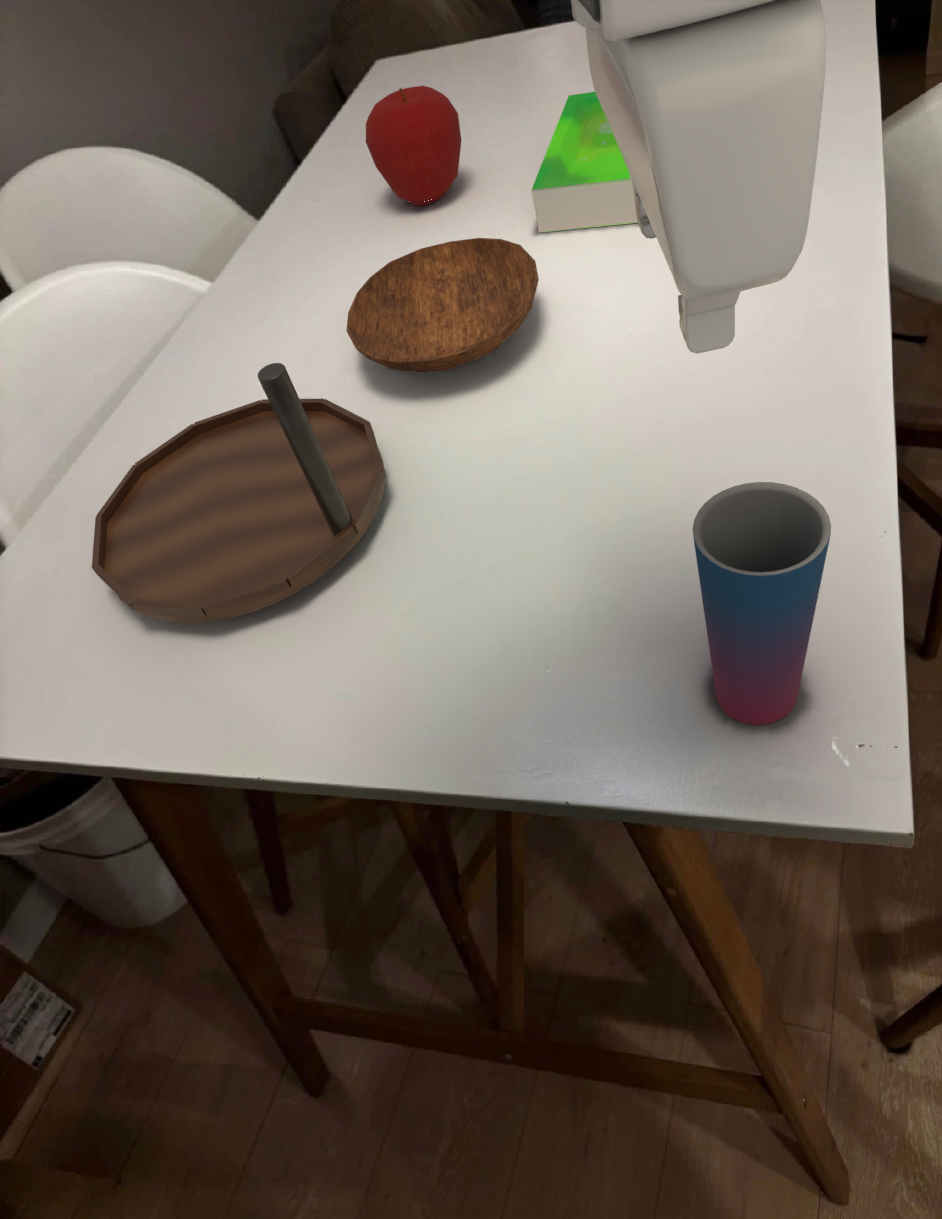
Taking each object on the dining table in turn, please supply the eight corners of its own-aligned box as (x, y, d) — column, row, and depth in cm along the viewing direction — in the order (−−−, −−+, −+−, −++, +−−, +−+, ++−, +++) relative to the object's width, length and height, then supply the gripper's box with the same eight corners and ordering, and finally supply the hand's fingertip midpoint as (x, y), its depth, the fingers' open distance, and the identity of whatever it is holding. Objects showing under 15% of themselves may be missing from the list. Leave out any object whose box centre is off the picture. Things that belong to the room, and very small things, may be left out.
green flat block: (538, 232, 103) (531, 189, 99) (574, 135, 118) (568, 95, 114) (767, 209, 95) (768, 162, 91) (773, 108, 110) (774, 64, 106)
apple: (472, 209, 110) (446, 94, 101) (382, 228, 112) (348, 117, 103) (474, 167, 118) (450, 56, 108) (390, 185, 120) (359, 79, 110)
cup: (789, 753, 54) (802, 591, 43) (683, 714, 57) (670, 553, 46) (828, 670, 57) (850, 498, 46) (726, 637, 60) (723, 469, 49)
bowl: (547, 266, 97) (540, 222, 94) (545, 387, 83) (536, 341, 79) (376, 296, 101) (362, 255, 98) (346, 416, 87) (329, 374, 84)
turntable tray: (411, 557, 70) (342, 384, 58) (98, 665, 70) (-36, 514, 58) (360, 384, 88) (299, 223, 75) (110, 470, 88) (9, 323, 75)
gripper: (526, -156, 35) (574, 192, 45) (610, -10, 21) (651, 443, 31) (688, -205, 34) (699, 161, 44) (884, -87, 20) (835, 404, 31)
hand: (680, 280), depth 38 cm, fingers open, 8 cm apart
